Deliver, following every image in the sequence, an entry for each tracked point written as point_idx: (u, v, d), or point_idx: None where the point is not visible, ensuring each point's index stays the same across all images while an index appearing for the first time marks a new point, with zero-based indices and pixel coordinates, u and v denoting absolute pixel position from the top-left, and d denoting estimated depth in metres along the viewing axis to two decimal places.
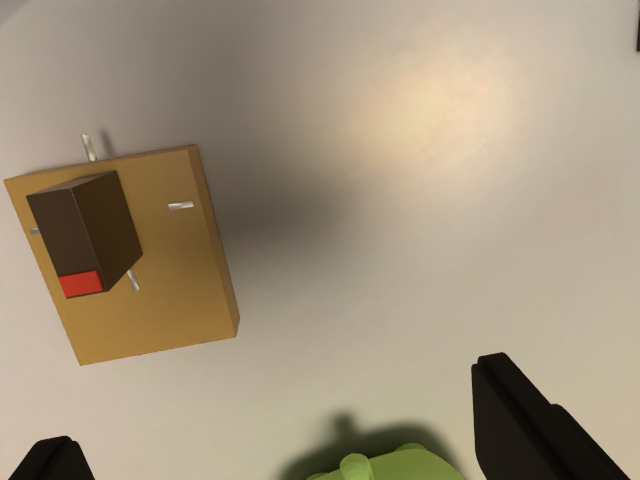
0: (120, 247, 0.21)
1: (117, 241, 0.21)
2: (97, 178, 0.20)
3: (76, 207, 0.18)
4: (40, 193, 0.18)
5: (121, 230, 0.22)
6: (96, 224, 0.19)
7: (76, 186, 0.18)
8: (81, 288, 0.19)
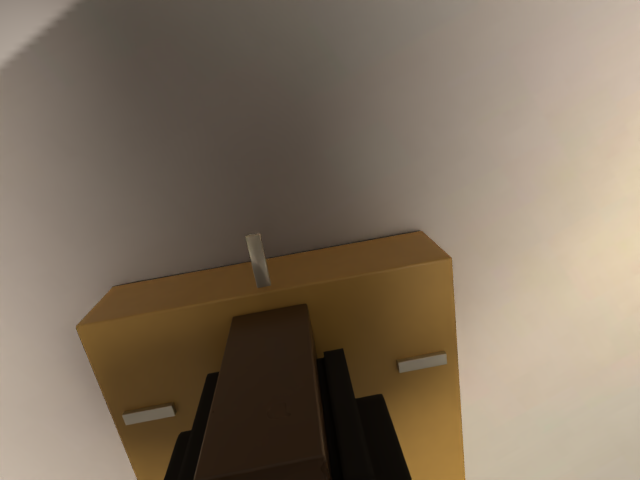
0: None
1: None
2: (312, 356, 0.09)
3: None
4: (233, 469, 0.06)
5: None
6: None
7: (320, 432, 0.07)
8: None
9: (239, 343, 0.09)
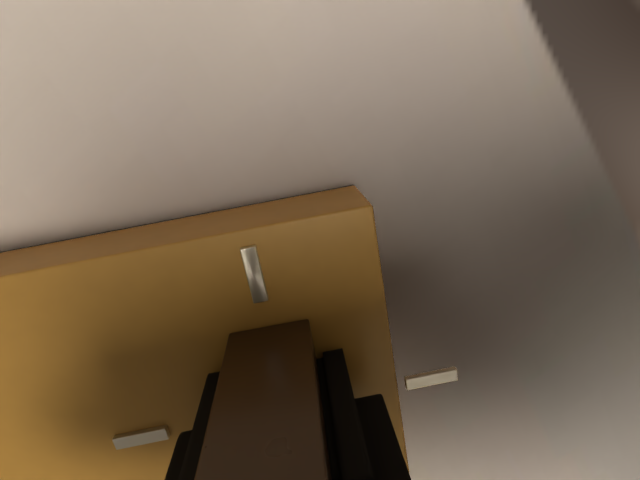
0: None
1: None
2: (315, 380, 0.08)
3: None
4: None
5: None
6: None
7: (325, 475, 0.06)
8: None
9: (235, 364, 0.09)
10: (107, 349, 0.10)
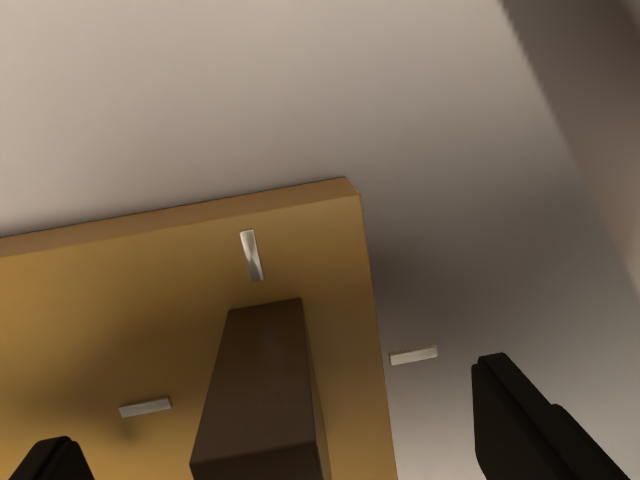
0: (329, 475, 0.10)
1: (328, 470, 0.10)
2: (306, 347, 0.09)
3: None
4: (228, 453, 0.06)
5: (323, 430, 0.10)
6: None
7: (313, 419, 0.07)
8: None
9: (234, 335, 0.10)
10: (115, 323, 0.11)
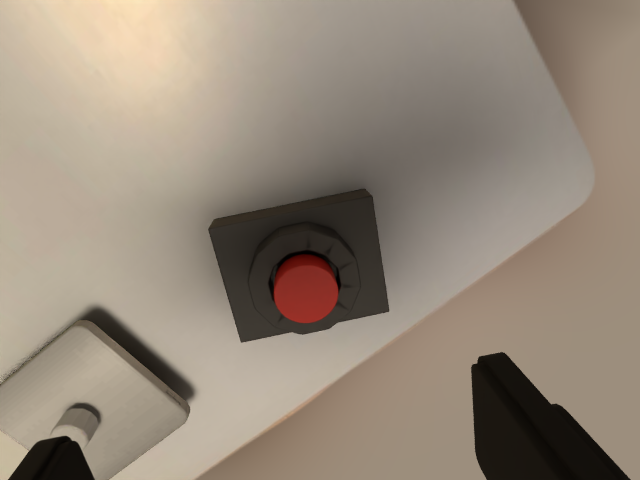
0: None
1: None
2: None
3: None
4: None
5: None
6: None
7: None
8: None
9: None
10: None
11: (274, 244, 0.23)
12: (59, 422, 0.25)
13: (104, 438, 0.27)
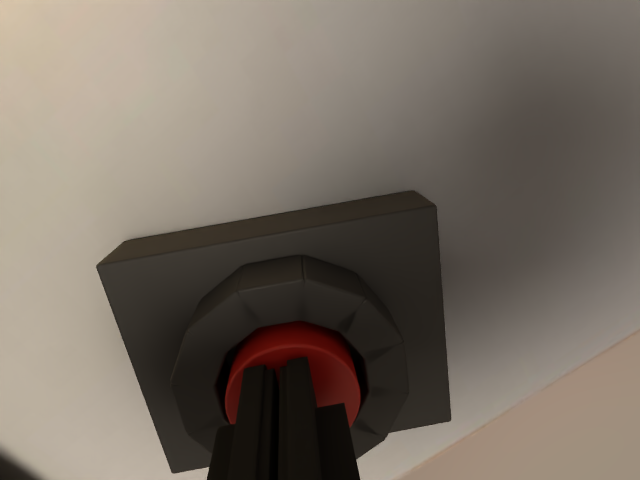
0: None
1: None
2: None
3: None
4: None
5: None
6: None
7: None
8: None
9: None
10: None
11: (227, 308, 0.10)
12: None
13: None
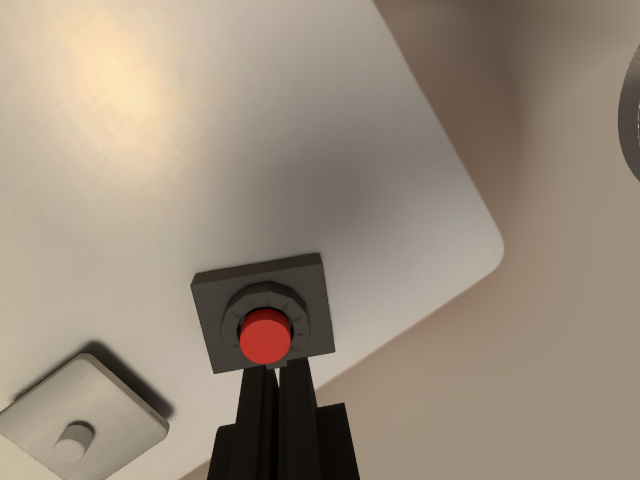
0: None
1: None
2: None
3: None
4: None
5: None
6: None
7: None
8: None
9: None
10: None
11: (241, 301, 0.29)
12: (62, 436, 0.31)
13: (97, 449, 0.33)
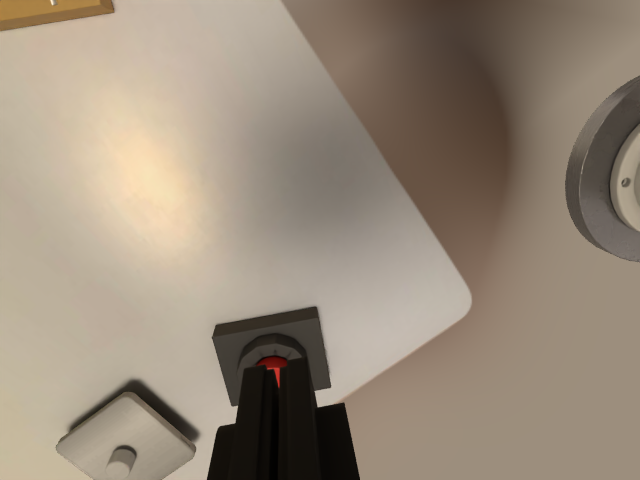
0: None
1: None
2: None
3: None
4: None
5: None
6: None
7: None
8: None
9: None
10: None
11: (253, 351, 0.37)
12: (111, 459, 0.38)
13: (138, 468, 0.41)
